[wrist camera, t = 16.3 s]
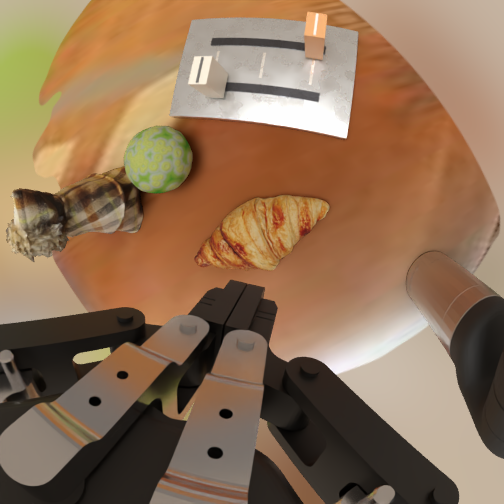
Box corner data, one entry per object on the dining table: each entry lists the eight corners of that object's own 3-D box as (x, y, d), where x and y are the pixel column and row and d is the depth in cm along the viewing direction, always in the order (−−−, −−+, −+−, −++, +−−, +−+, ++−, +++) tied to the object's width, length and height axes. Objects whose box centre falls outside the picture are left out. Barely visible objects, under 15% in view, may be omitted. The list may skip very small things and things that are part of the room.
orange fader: (325, 38, 29) (327, 14, 22) (322, 60, 30) (324, 37, 23) (308, 35, 29) (307, 11, 22) (305, 57, 30) (304, 34, 23)
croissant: (317, 184, 41) (308, 159, 33) (344, 242, 38) (342, 228, 30) (201, 239, 46) (173, 227, 39) (217, 295, 43) (189, 293, 36)
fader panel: (356, 36, 29) (358, 31, 27) (344, 139, 35) (346, 138, 33) (196, 24, 33) (191, 19, 31) (174, 117, 38) (168, 115, 36)
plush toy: (172, 228, 42) (28, 235, 19) (120, 261, 47) (0, 282, 23) (146, 156, 43) (20, 125, 19) (100, 196, 48) (-11, 190, 24)
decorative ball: (181, 117, 38) (147, 105, 29) (214, 167, 39) (186, 165, 30) (138, 156, 41) (99, 155, 32) (167, 203, 42) (132, 213, 33)
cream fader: (228, 73, 33) (211, 55, 26) (223, 98, 34) (205, 84, 27) (212, 73, 33) (193, 56, 26) (207, 97, 34) (187, 83, 28)
